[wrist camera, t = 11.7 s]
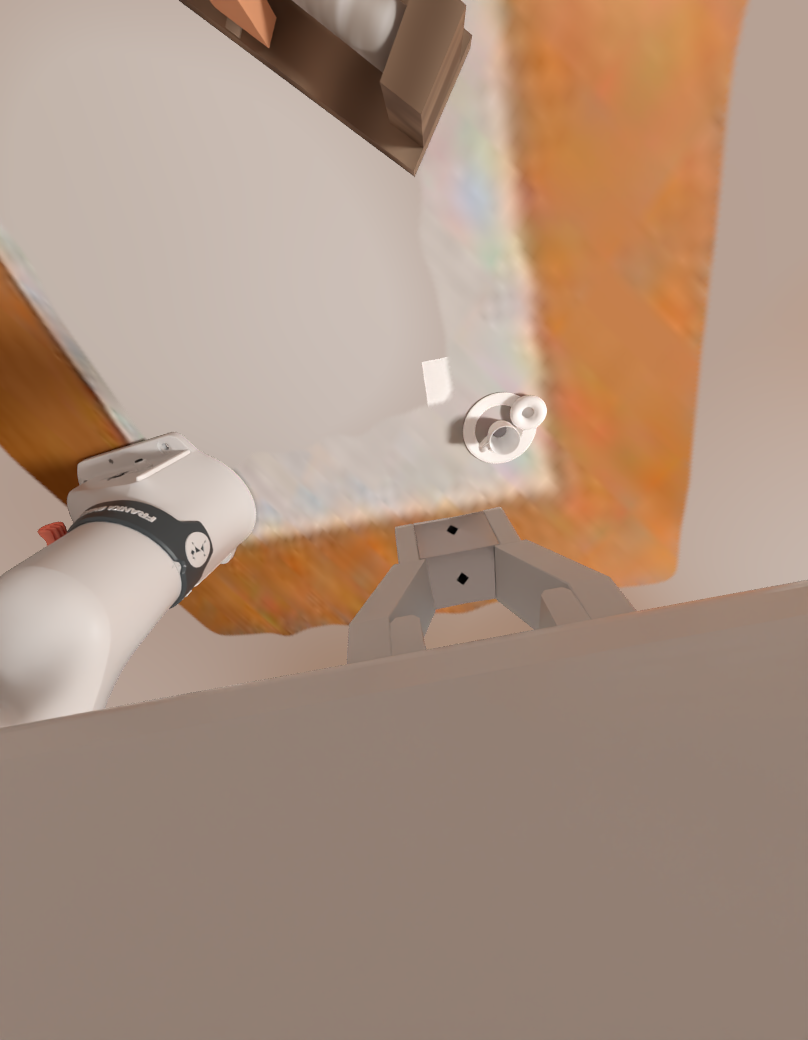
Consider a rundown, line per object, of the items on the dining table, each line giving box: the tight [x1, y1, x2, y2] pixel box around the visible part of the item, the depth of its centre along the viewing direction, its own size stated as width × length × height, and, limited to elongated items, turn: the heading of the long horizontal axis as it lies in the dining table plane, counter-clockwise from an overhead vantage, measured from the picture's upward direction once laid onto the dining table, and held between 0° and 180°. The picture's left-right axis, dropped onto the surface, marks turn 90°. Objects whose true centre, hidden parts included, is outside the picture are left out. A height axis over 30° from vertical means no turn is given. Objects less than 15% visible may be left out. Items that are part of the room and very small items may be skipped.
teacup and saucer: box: [463, 392, 547, 463], centre depth 39 cm, size 9×8×4 cm
